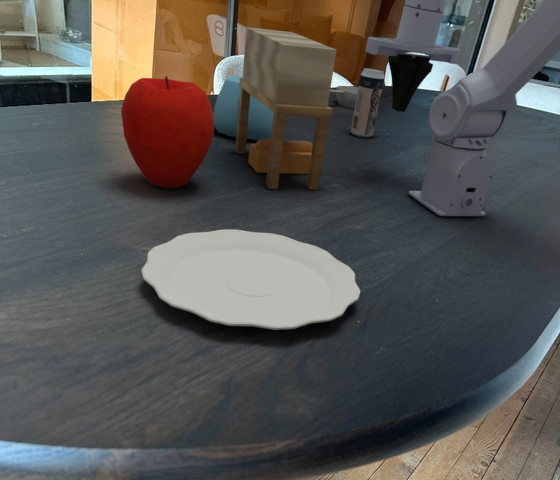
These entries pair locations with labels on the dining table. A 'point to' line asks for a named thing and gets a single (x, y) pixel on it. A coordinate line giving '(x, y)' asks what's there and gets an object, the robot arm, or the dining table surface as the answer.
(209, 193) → the dining table surface
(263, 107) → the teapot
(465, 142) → the robot arm
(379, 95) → the beer can
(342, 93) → the saucepan
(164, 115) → the apple
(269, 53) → the stand
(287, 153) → the low wooden box
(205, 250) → the plate
